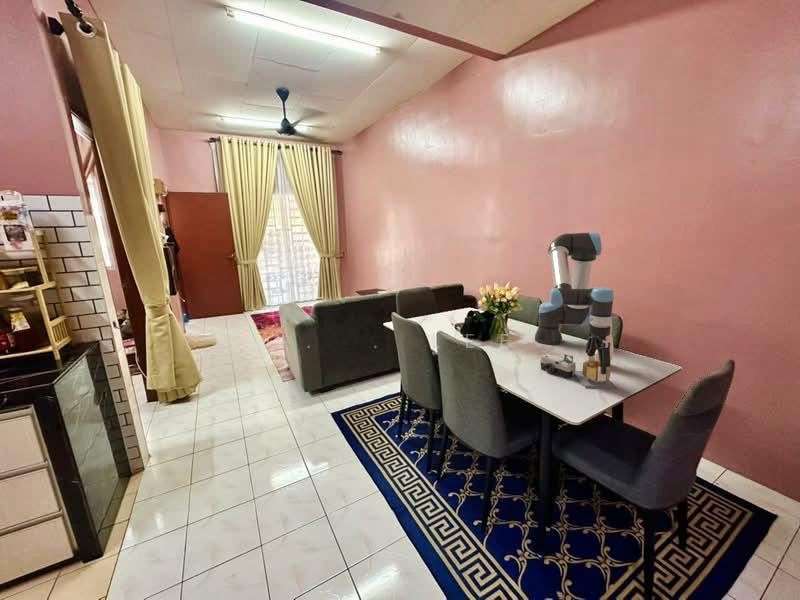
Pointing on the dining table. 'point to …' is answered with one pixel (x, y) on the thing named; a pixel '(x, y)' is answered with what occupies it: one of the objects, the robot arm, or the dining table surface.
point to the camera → (558, 365)
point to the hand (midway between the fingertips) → (595, 375)
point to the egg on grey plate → (593, 382)
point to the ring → (594, 370)
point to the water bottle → (610, 339)
